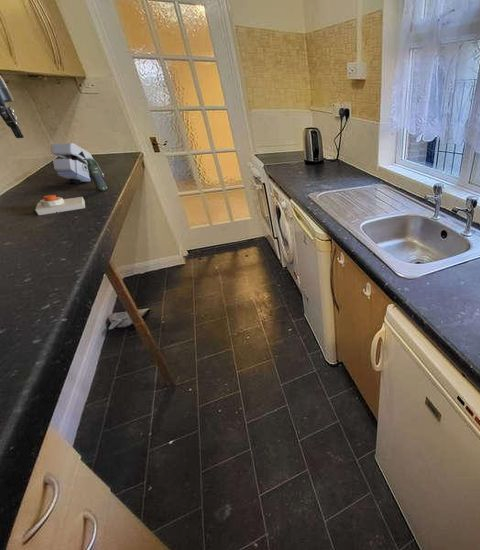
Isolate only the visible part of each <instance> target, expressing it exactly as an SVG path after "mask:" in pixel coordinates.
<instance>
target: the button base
mask: <svg viewBox="0 0 480 550" xmlns="http://www.w3.org/2000/svg"><path fill="white" fill-rule="evenodd" d="M56 197H57V200H53V201H45V199H44V198H43V199H40V200H39V202H37V204H36V207H35V212H36V214H37V216H43V215H50V214H57V213H62V212H69V211H75V210H76V211H77V210H81V209H86V201H85V199H84V197H83V196H78V197H70V198H63V197H62V196H56ZM56 212H57V213H56Z"/></svg>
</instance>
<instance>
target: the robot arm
mask: <svg viewBox="0 0 480 550" xmlns="http://www.w3.org/2000/svg"><path fill="white" fill-rule="evenodd" d="M14 101H15V99H14V97H13V95H12V93H11V91H10V90H9V87H8V85H7V84H6V82H5V79H3V77H2V76H1V75H0V117H1V118H2V120H3V121H4V123H5V124H6V126H7V127H8V128H10V130H11V131H12V133H13V136H14V137H15V138H16V139H24V138H25V136H24V134H23V131H22V130H21V128H20V123H19V121H18V118H17V116H16V114H15V111H14V108H13V107H12V106H10V105H9V104H8V103H11V102H14Z"/></svg>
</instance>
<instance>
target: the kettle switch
mask: <svg viewBox="0 0 480 550" xmlns="http://www.w3.org/2000/svg"><path fill="white" fill-rule="evenodd" d="M57 197H58V196H57V195H56V194H49V195H44V196H43V199H45V201H53V200H57Z"/></svg>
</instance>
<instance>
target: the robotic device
mask: <svg viewBox="0 0 480 550" xmlns="http://www.w3.org/2000/svg"><path fill="white" fill-rule="evenodd" d="M50 145H51V146H50V149H51V150H50V151H51V154H52V155H54V156H57V157H59V158H53V159H52V163H53V168H54V170H55V171H56V174H57V176H59V177H61V178H63V179H65V180H68V181H69V182H70V183H72V184H74V185H80V183H88V182H92V180H91V178H92V176H91V174H90V173H89V171H88V167H87V165H88V163H87V161H86V160H83V159H85V158H93V156H92V154H91V153H90V152H89V151H88V150H86V149H84V148H82V147H80V146H79V145H77V144H75V143H73V142H54V143H52V144H50ZM102 175H103V177H104V178H105V173H103V172H102Z"/></svg>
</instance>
